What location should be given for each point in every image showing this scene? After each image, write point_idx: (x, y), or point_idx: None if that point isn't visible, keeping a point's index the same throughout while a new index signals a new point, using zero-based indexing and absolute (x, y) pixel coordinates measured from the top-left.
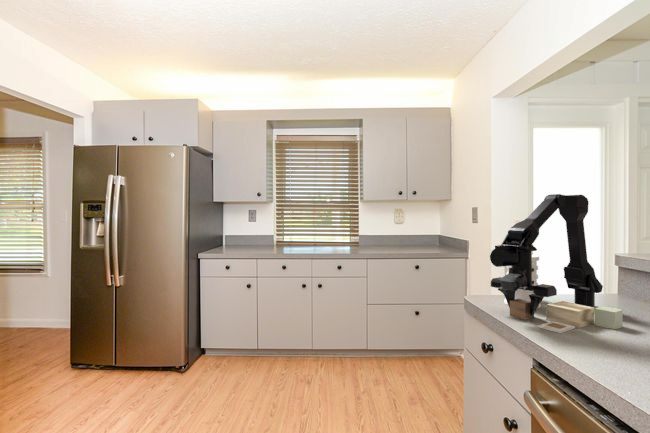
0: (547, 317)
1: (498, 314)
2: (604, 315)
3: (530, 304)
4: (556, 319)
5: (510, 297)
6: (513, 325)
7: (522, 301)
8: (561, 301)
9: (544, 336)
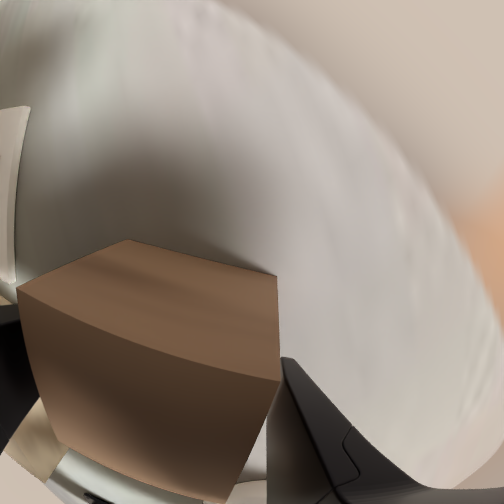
0: None
1: (375, 232)
2: None
3: (6, 324)
4: None
5: (301, 482)
6: (152, 5)
7: (106, 416)
8: (39, 477)
9: (24, 17)
